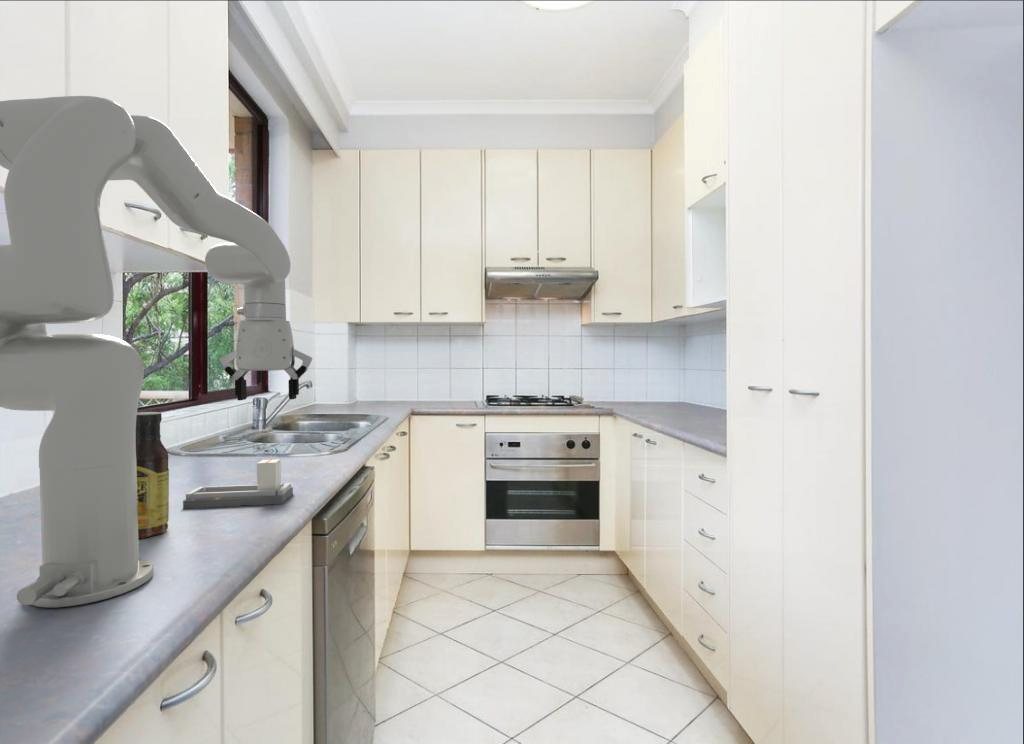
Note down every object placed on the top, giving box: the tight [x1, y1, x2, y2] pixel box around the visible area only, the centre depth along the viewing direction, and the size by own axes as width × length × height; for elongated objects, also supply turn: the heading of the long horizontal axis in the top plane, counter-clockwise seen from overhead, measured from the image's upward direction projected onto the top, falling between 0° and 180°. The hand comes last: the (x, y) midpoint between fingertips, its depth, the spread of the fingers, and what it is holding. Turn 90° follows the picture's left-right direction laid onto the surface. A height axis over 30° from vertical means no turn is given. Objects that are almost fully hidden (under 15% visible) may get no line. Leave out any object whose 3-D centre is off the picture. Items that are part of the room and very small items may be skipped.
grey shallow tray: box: [182, 482, 294, 509], centre depth 108 cm, size 8×18×2 cm, turn 98°
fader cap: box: [256, 458, 282, 491], centre depth 108 cm, size 4×4×6 cm
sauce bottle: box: [136, 411, 170, 539], centre depth 87 cm, size 6×6×20 cm
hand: (267, 399), depth 108 cm, fingers open, 9 cm apart
